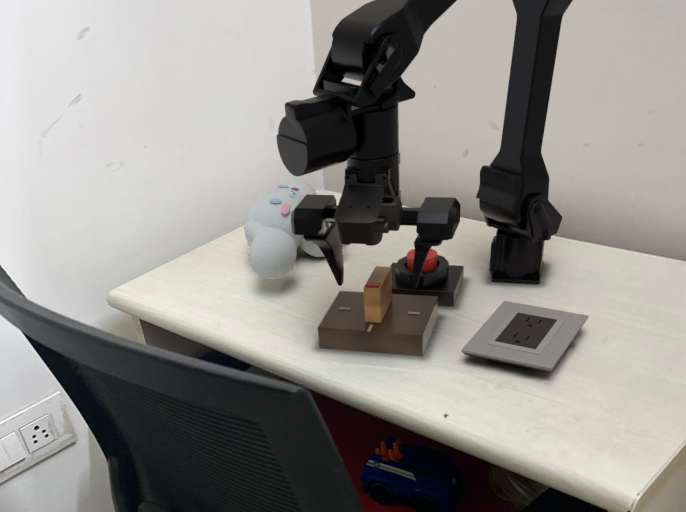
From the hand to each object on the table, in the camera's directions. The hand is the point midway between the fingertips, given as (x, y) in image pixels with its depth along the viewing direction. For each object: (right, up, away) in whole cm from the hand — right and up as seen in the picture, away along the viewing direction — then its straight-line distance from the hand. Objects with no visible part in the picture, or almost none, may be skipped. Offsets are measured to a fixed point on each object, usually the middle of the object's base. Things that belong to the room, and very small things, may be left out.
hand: (377, 286), depth 94 cm
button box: (+7, +3, +12) cm, 14 cm away
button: (+7, +5, +9) cm, 13 cm away
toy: (-10, +12, +25) cm, 29 cm away
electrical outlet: (+18, -8, -1) cm, 19 cm away
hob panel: (+1, -5, +4) cm, 6 cm away
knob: (0, -2, +2) cm, 3 cm away
